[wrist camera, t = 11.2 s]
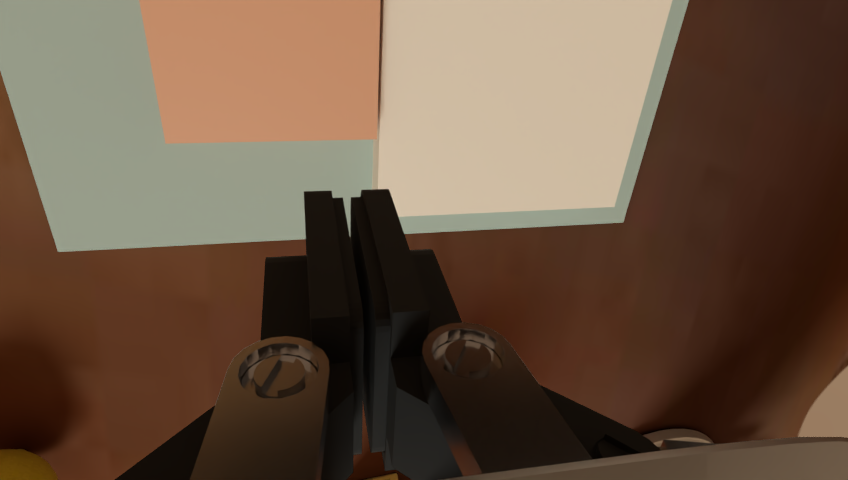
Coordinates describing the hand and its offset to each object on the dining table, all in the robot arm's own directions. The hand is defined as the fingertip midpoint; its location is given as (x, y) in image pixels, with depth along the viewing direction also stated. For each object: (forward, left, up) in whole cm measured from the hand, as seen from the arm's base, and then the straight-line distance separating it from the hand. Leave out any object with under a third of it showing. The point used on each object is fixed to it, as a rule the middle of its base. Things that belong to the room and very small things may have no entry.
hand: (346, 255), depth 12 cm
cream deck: (-9, 0, -14) cm, 17 cm away
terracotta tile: (+2, -1, -14) cm, 15 cm away
